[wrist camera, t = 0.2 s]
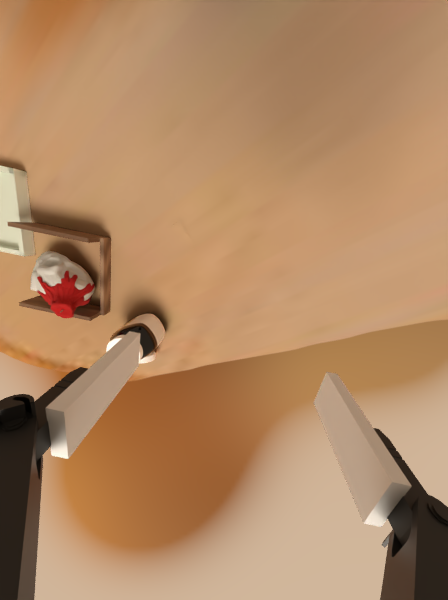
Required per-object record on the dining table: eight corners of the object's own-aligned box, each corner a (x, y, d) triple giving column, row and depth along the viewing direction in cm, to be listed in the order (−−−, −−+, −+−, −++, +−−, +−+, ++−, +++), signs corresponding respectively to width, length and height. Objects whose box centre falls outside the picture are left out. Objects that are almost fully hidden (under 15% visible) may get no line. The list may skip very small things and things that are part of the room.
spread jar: (157, 306, 50) (133, 328, 39) (179, 344, 53) (163, 375, 42) (117, 324, 52) (84, 349, 41) (140, 360, 55) (115, 392, 44)
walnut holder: (36, 222, 46) (7, 221, 40) (110, 237, 46) (92, 239, 40) (43, 297, 52) (19, 305, 46) (110, 311, 51) (93, 321, 46)
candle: (54, 238, 44) (42, 283, 34) (104, 268, 52) (104, 311, 43) (27, 265, 45) (7, 315, 36) (79, 290, 54) (74, 335, 44)
